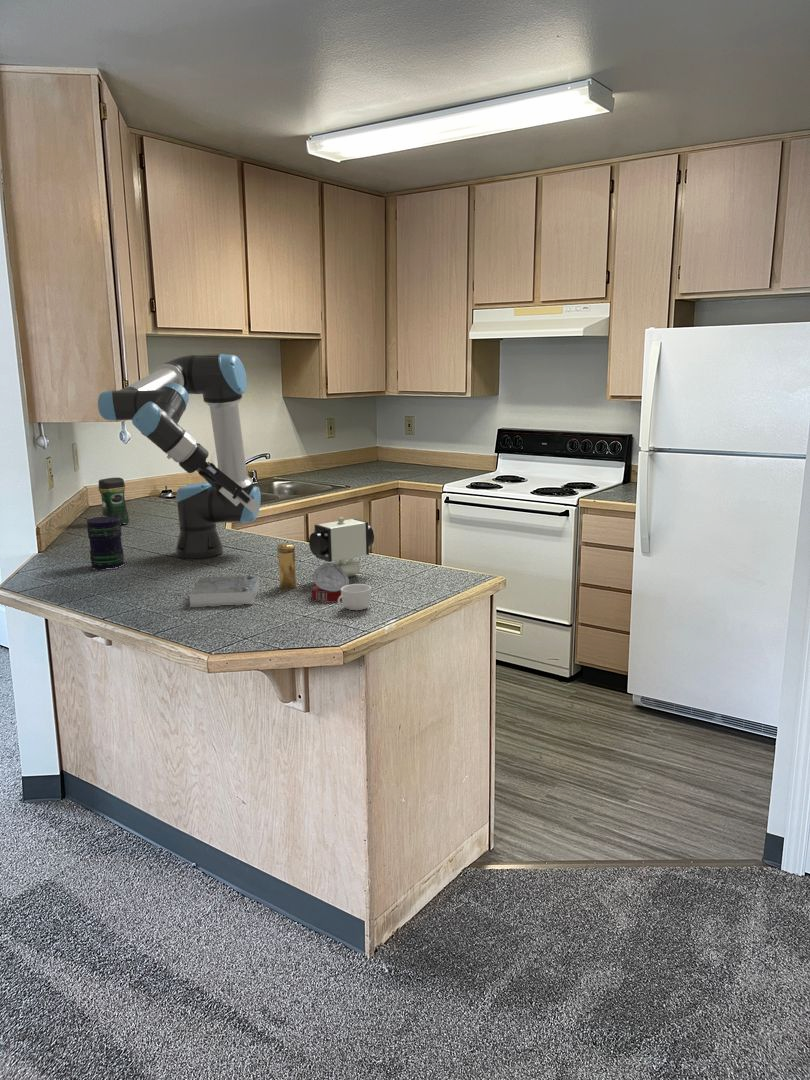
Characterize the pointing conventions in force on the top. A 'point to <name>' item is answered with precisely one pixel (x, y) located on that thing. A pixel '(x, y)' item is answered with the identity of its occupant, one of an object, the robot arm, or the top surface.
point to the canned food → (328, 582)
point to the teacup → (355, 596)
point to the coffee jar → (113, 498)
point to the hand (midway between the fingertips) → (247, 505)
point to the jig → (224, 591)
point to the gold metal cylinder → (287, 565)
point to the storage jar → (105, 542)
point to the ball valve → (342, 543)
